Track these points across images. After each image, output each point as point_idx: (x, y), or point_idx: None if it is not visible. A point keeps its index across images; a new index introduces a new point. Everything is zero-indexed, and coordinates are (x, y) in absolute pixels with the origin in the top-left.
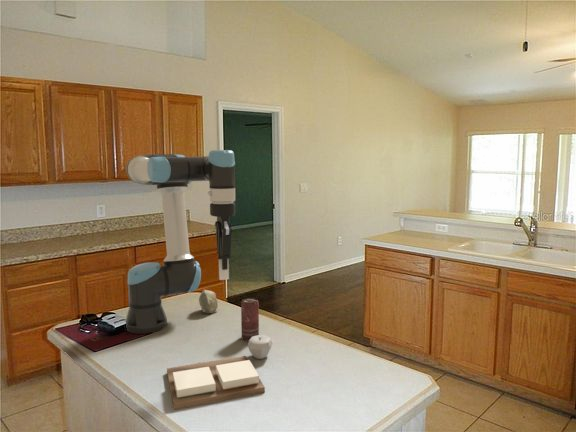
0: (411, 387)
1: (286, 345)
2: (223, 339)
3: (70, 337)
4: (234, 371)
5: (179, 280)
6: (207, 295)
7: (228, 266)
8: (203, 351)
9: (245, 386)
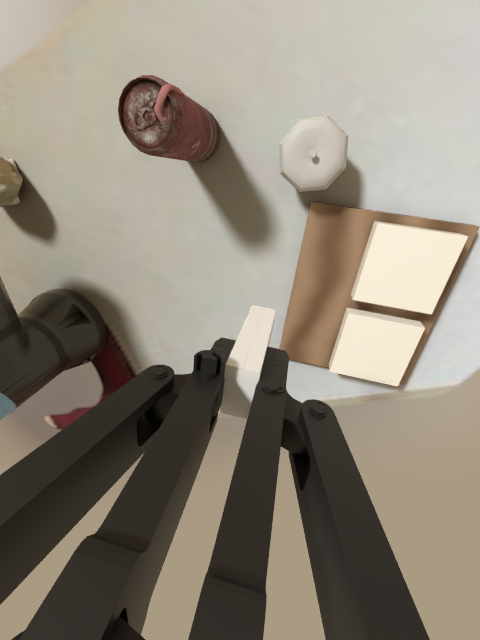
0: None
1: (290, 42)
2: (182, 207)
3: None
4: (406, 277)
5: None
6: None
7: (267, 343)
8: (223, 269)
9: None
